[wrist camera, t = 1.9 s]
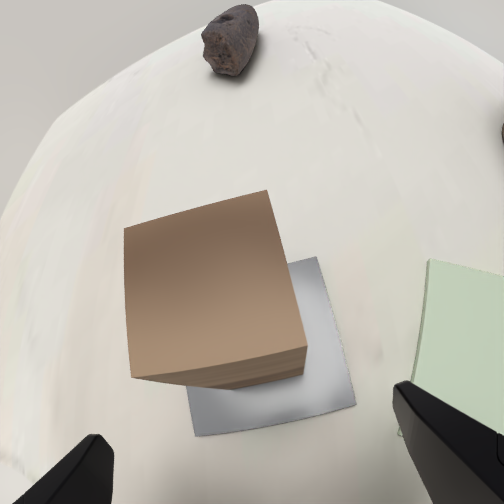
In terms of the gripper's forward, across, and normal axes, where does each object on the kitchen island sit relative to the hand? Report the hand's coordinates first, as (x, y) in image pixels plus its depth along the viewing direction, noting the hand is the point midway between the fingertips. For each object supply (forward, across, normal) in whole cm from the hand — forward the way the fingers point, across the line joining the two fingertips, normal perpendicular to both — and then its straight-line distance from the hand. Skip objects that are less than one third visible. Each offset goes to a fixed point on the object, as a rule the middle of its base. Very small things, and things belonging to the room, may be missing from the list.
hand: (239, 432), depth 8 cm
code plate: (+11, 0, +5) cm, 12 cm away
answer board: (+7, -15, +9) cm, 19 cm away
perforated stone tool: (+35, -5, -19) cm, 40 cm away
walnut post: (+10, 0, +4) cm, 11 cm away
